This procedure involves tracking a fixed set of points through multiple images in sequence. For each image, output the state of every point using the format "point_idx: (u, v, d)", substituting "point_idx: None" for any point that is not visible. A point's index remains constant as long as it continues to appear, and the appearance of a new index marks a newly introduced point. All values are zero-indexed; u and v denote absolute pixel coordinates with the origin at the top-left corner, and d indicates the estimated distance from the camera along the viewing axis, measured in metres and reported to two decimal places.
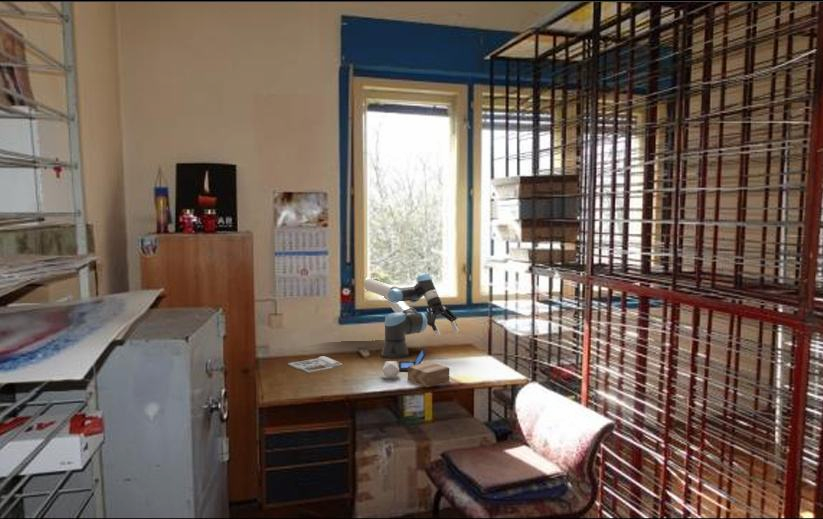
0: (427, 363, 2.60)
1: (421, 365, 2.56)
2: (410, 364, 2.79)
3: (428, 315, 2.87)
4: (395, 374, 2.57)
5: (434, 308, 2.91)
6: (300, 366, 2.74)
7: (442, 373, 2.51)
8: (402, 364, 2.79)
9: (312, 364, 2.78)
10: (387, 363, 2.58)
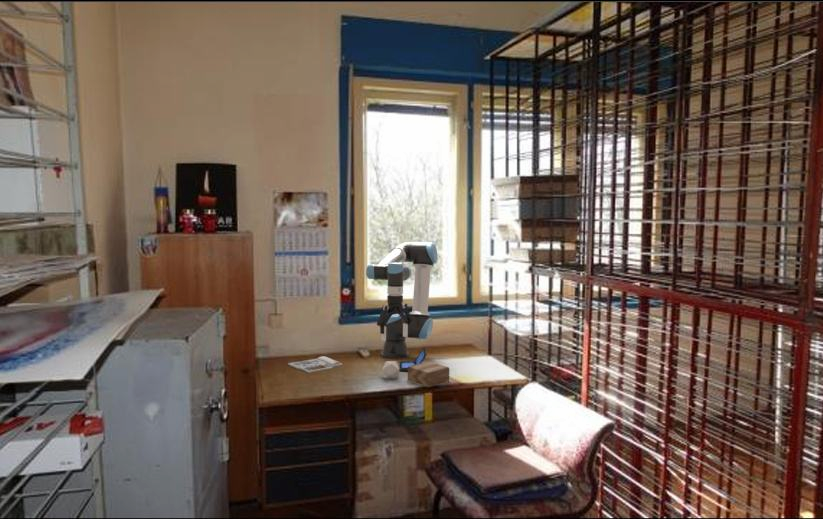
0: (426, 363, 2.60)
1: (420, 366, 2.56)
2: (411, 364, 2.79)
3: (381, 315, 2.52)
4: (395, 374, 2.57)
5: (392, 307, 2.55)
6: (300, 366, 2.74)
7: (443, 373, 2.52)
8: (403, 364, 2.79)
9: (312, 364, 2.78)
10: (387, 363, 2.58)
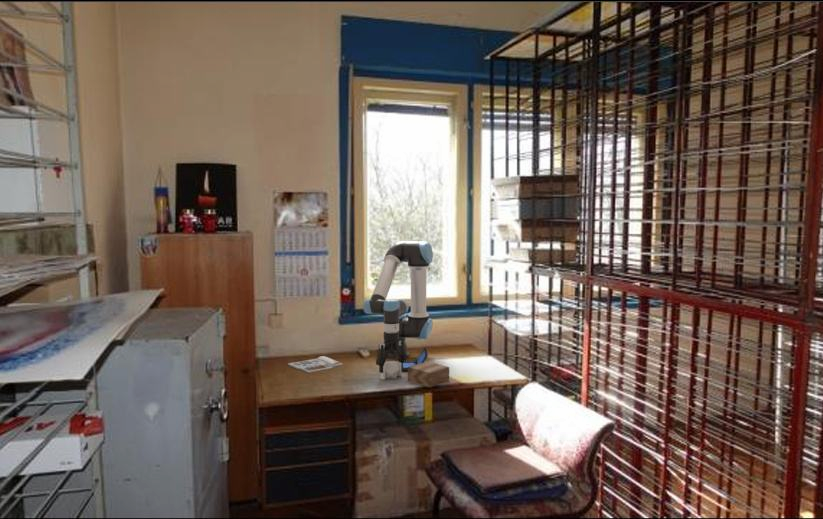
0: (426, 363, 2.60)
1: (420, 366, 2.56)
2: (412, 364, 2.79)
3: (379, 354, 2.54)
4: (395, 374, 2.57)
5: (388, 344, 2.56)
6: (300, 366, 2.74)
7: (443, 372, 2.52)
8: (404, 364, 2.78)
9: (312, 364, 2.78)
10: (387, 363, 2.58)
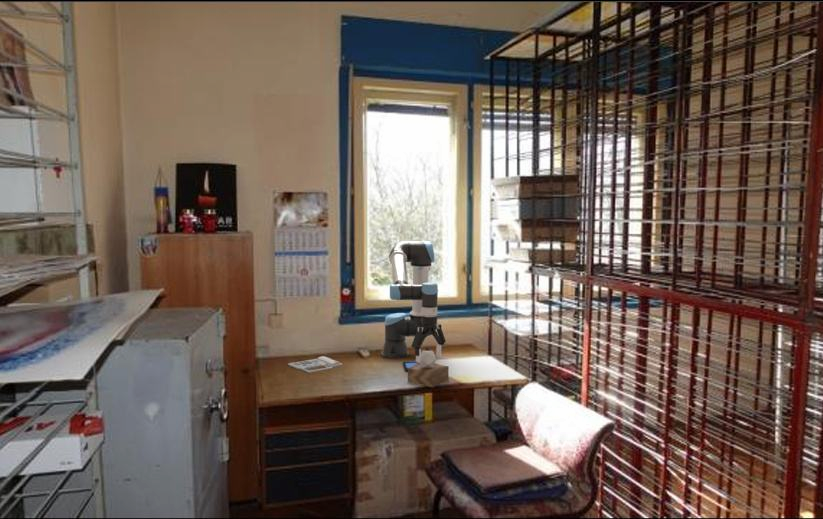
0: None
1: (420, 366, 2.55)
2: (415, 364, 2.79)
3: (416, 337, 2.48)
4: (432, 364, 2.52)
5: (426, 328, 2.51)
6: (300, 366, 2.74)
7: (443, 372, 2.53)
8: (407, 364, 2.78)
9: (312, 364, 2.78)
10: (424, 352, 2.53)
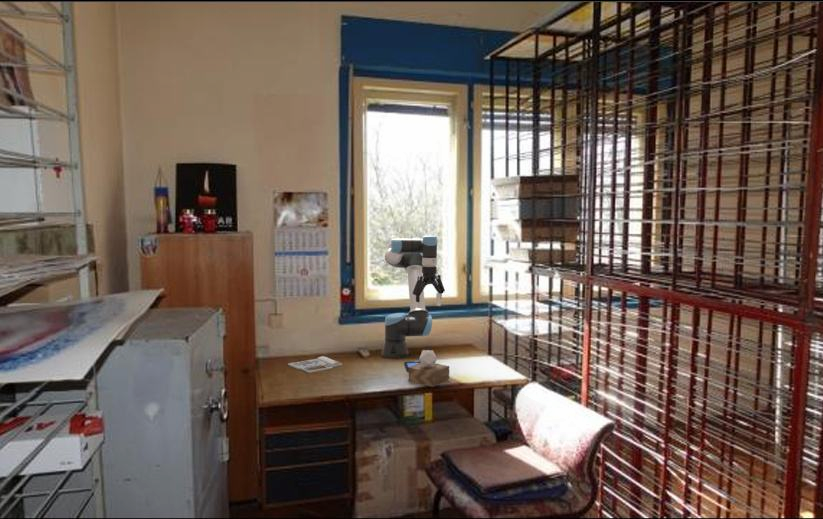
0: None
1: (420, 366, 2.56)
2: (416, 364, 2.79)
3: (417, 284, 2.69)
4: (433, 363, 2.52)
5: (426, 277, 2.72)
6: (300, 366, 2.74)
7: (444, 372, 2.54)
8: (408, 364, 2.78)
9: (312, 364, 2.78)
10: (424, 352, 2.54)
